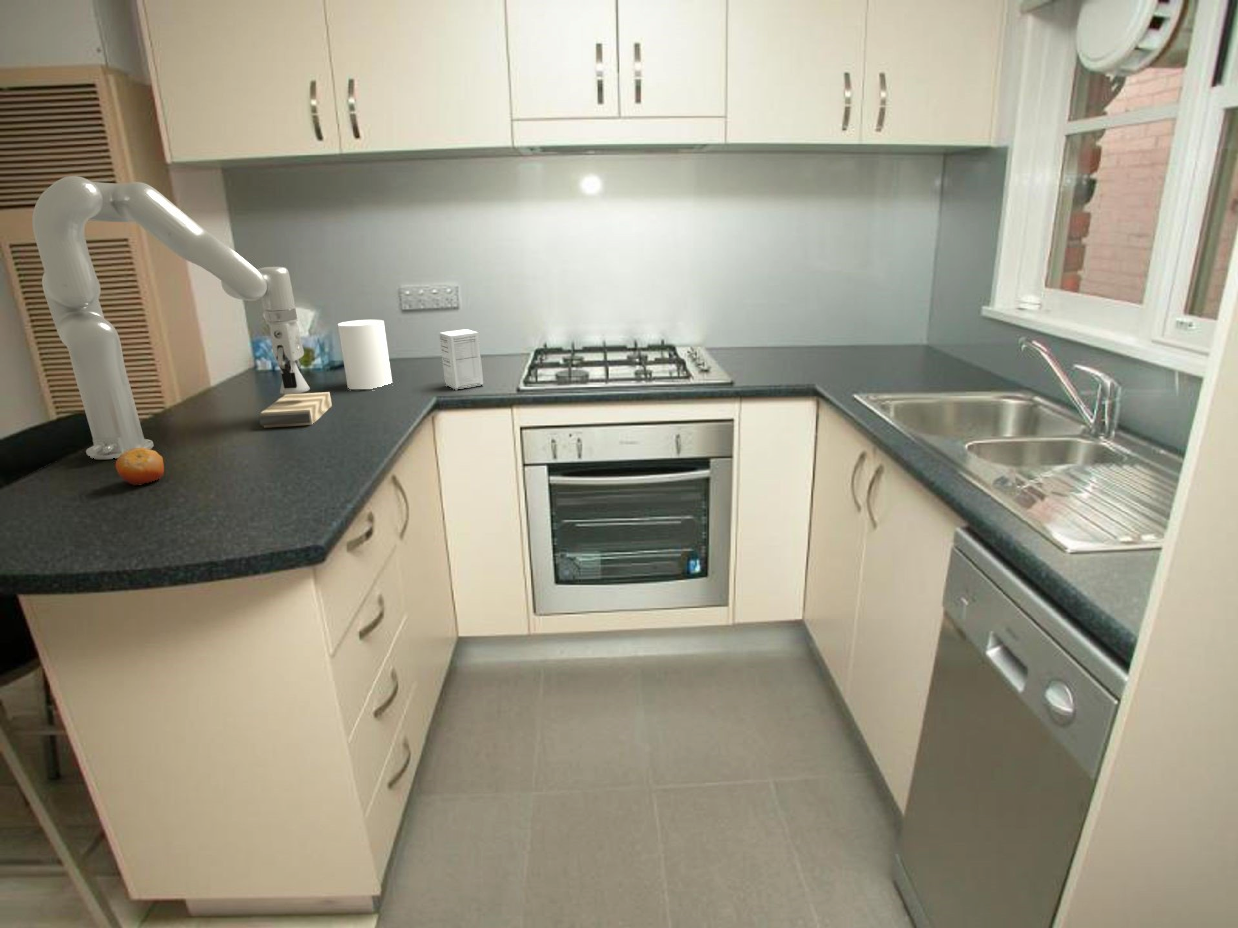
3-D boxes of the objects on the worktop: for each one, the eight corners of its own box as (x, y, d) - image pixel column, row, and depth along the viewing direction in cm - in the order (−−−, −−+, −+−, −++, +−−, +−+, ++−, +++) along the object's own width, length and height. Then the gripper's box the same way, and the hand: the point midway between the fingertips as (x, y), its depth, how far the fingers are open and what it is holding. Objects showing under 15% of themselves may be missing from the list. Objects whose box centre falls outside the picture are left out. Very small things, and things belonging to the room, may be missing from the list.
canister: (346, 392, 217) (335, 327, 211) (349, 383, 230) (339, 321, 223) (392, 388, 221) (383, 324, 214) (393, 380, 233) (384, 318, 226)
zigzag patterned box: (310, 426, 182) (307, 411, 180) (261, 429, 180) (258, 414, 179) (331, 405, 202) (329, 392, 201) (287, 408, 201) (285, 394, 199)
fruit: (153, 464, 151) (152, 437, 146) (170, 489, 148) (170, 461, 144) (109, 475, 145) (107, 447, 140) (126, 501, 142) (125, 473, 138)
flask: (299, 395, 186) (291, 357, 182) (274, 395, 187) (267, 357, 184) (315, 389, 192) (308, 352, 189) (291, 388, 194) (284, 352, 190)
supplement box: (472, 381, 227) (467, 328, 222) (484, 386, 220) (479, 331, 214) (444, 386, 222) (438, 332, 217) (455, 391, 215) (449, 335, 209)
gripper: (285, 320, 176) (299, 392, 182) (305, 311, 192) (317, 378, 198) (254, 321, 175) (268, 393, 181) (276, 313, 191) (289, 379, 197)
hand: (293, 384), depth 189 cm, fingers closed on flask, 4 cm apart
